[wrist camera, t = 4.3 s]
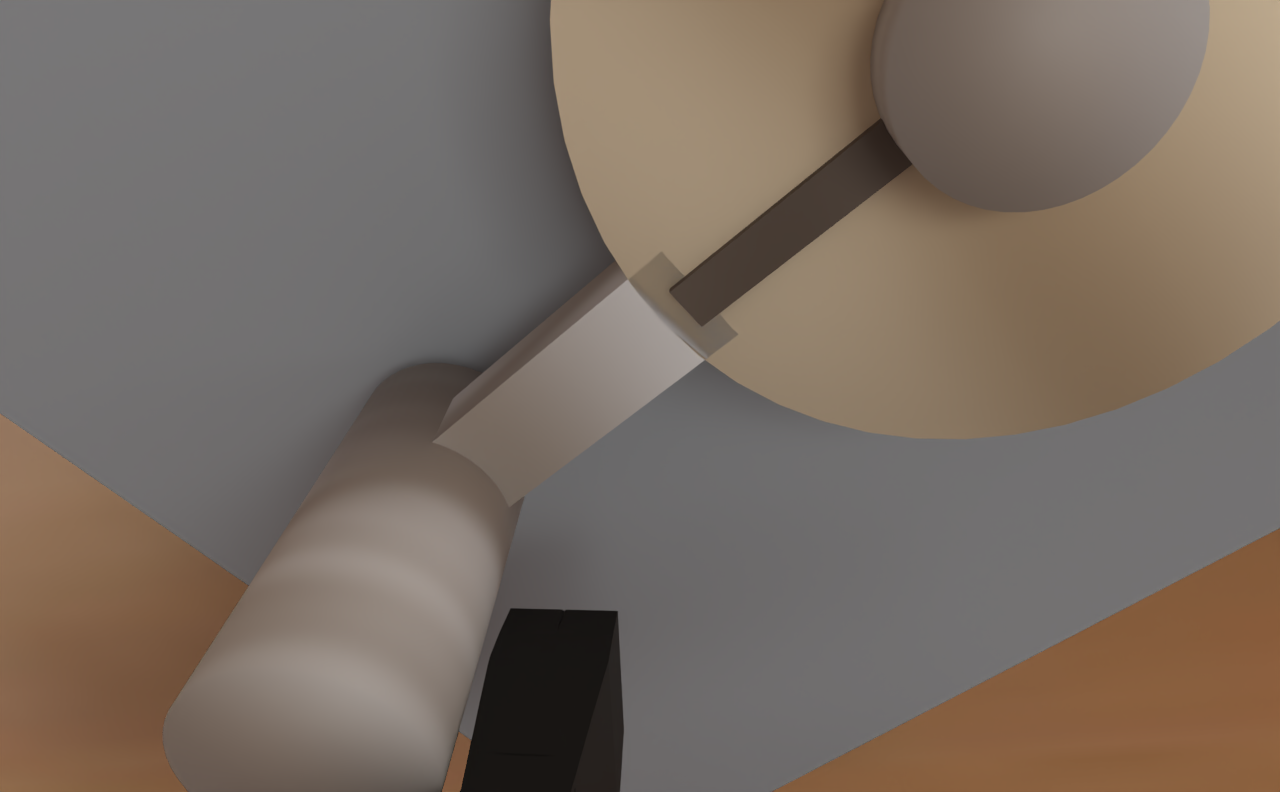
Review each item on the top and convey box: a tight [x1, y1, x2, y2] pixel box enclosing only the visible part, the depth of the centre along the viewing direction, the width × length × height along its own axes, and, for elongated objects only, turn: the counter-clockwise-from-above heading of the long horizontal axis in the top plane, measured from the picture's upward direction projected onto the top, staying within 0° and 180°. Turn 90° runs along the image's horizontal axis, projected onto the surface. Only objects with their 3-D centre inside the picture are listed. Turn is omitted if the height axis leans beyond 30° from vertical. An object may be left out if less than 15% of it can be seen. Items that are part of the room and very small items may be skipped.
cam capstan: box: [163, 0, 1280, 792], centre depth 8 cm, size 13×8×5 cm, turn 132°
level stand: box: [0, 0, 1280, 792], centre depth 10 cm, size 22×18×4 cm
